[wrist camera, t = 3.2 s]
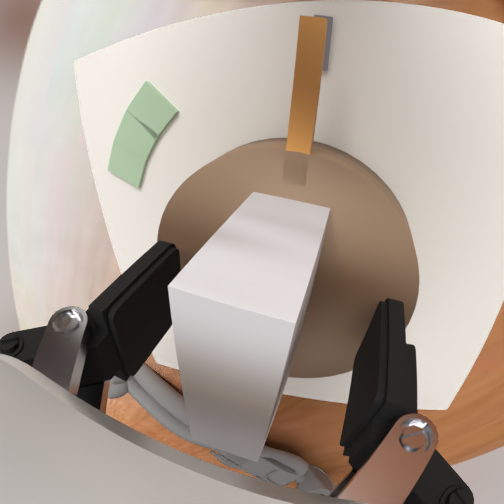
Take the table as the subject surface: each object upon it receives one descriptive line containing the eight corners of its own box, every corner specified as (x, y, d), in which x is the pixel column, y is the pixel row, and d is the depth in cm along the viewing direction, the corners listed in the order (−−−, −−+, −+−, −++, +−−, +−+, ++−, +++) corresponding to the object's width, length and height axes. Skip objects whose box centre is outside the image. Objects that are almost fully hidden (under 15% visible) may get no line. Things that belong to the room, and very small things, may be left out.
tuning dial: (369, 365, 15) (348, 494, 9) (186, 314, 17) (114, 414, 11) (468, 65, 7) (601, 64, 1) (184, 25, 9) (21, 14, 4)
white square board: (524, 39, 6) (543, 36, 5) (445, 391, 16) (446, 412, 15) (94, 59, 13) (70, 61, 11) (166, 349, 23) (155, 365, 21)
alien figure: (102, 373, 21) (353, 509, 20) (136, 335, 25) (364, 467, 24) (98, 403, 26) (304, 516, 25) (125, 371, 30) (316, 481, 29)
